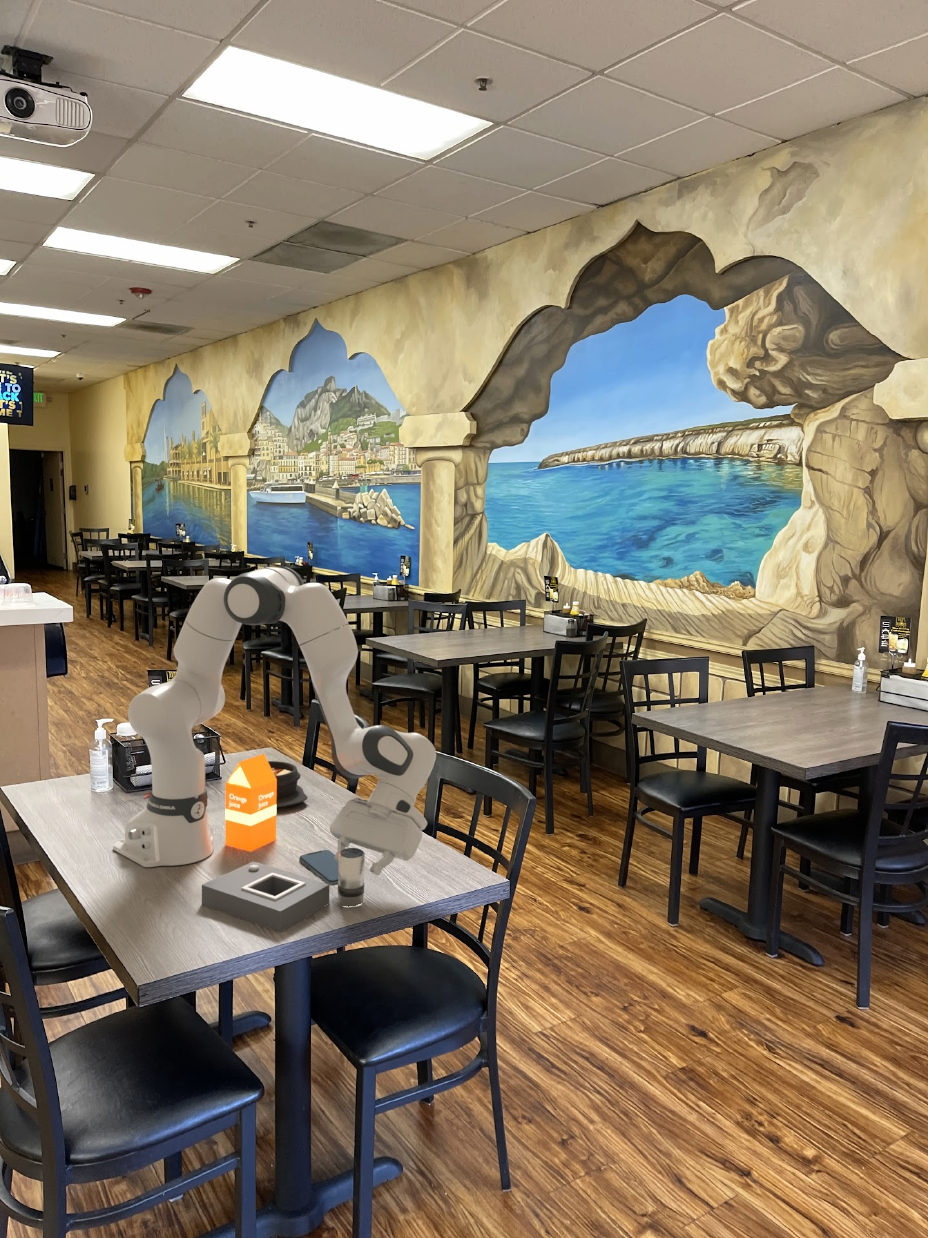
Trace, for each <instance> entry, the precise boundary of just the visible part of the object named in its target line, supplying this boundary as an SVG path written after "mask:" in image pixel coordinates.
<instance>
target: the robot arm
mask: <svg viewBox="0 0 928 1238" xmlns="http://www.w3.org/2000/svg"><path fill="white" fill-rule="evenodd" d="M278 622H283V623H286V624H287V625H288V627H290V629H291V630H292V632H293V634H294V635H293V636H295V638H296V641H297V643H298V646H299V648H300V650H301V652H302V655H303V657H304V660H305V662H306V665H307V668H308V670H309V675H310V677H311V679H310V680H311V683H312V687H313V692H314V693H315V697H316V700H317V702H318V705H319V708H320V711H321V713H322V717H323V720H324V722H325V725H326V727H327V731H328V733H329V737H330V746H331V757H332V762H333V765H334V766H335V768H336V769H337V771H338V772H339V773H340V774H342V775H343V776H344V777H347V778H349V779H360V778H363V777H366V776H369V775H374V776H376V778H377V779H378V781H377V783H376V785H375V787H374V789H373V790H372V792H371V794H370V796H369V798H368V800H367V799H362V798H360V797H354V798H352V799H350V800H348V801H347V802H346V803H345V805H344V806H343V807H342V808H341V809H340V810H339V811H338V813H337V814H336V816H335V818H333V820H332V822H331V823H330V825H329V832H330V833H331V834H332V836H334V838H336V839H337V851H336V853H335V857H334V859H335V860H336V861H338V862H339V852H341V851H342V850H343V849H346V848H349V846H350V844H353V845H354V846H355V845H356V846H359V847H362V848H364V849H368V850H371V851H373V852H374V851H375V852H378V853H381V854H382V857H381V859H379V860H378V861H377V862H374V861H373V862H372V865H371V866H370V868H369V871H370V872H371V874H374V875H376V876H380V875H381V873H382V871H383V869H385V868H386V867H387V866H389V865H390V864H392V863H393V861H394V859H395V858H396V859H399V860H402V861H405V862H407V861H410V860H411V859H412V858H413V857H414V856H415V854H416V852H417V850H418V848H419V845H420V843H421V841H422V837H423V830H424V831H425V829H426V827H427V826H428V821H427V820H426V818H425V817H424V815H423V814H422V813H421V811H419V809H418V808H416V807H415V804H416V801H417V797H418V794H419V793H420V791H422V789H423V788H425V785H426V783H427V781H428V779H429V778H430V775H431V773H432V771H433V768H434V765H435V763H436V758H437V752H436V747H435V746H434V744H433V743H432V741H430V740H429V739H428V737H426V736H424V735H422V734H420V733H418V732H403V731H398V730H395V729H394V728H392V727H390V726H388V725H381V724H379V725H378V724H377V725H372V726H369V727H365V728H362V727H361V726H360V725H359V723H358V722H357V719H356V717H355V714H354V713H355V712H354V711H353V710H354V709H353V707H352V705H351V701H350V699H349V696H348V693H347V680H348V677H349V675H350V672H351V670H352V669H353V668H354V666H355V663H356V661H357V658H358V654H359V651H358V644H357V641H356V638H355V633H354V632H353V630H352V627H351V626H350V624H349V621H348V619H347V617H346V615H345V613H344V611H343V609H342V608H341V606H340V604H339V602H338V601H337V599H336V598H335V596H334V595H333V593H332V592H331V591H330V590H329V588H328V587H327V586H326V585H325V584H322V583H320V582H307V583H305V581H304V580H303V578H302V577H301V575H300V574H299V573H298V572H297V571H295V570H294V569H292V568H290V567H287V566H281V565H278V566H272V567H271V566H269V567H260V568H257V569H254V570H253V571H249V572H244V573H241V574H239V575H237V576H236V577H235V578H233V579H232V580H231V579H228V578H224V577H215V578H212V579H210V580H207V582H206V583H204V585H203V587H202V588H201V590H199V593H198V594H197V596H196V597H195V599H194V601H193V602H192V604H191V606H190V608H189V611H188V612H187V615H186V618H185V620H184V622H183V625H182V628H181V630H180V632H179V634H178V637H177V639H176V642H175V644H174V647H173V656H174V658H175V659H176V661H177V669H176V673H175V675H174V676H173V678H172V679H171V680H170V681H167V682H163V683H160V684H155V685H152V686H149V687H148V688H146V689H145V690H143V691H141V692H140V693H139V694H137V695H135V696H134V697H133V698H132V699H131V700H130V703H129V705H128V708H127V718H128V722H129V725H130V727H131V728H132V729H133V731H134V732H135V733H136V734H137V735H139V736H140V737H142V738H143V740H144V742H145V744H146V747H147V750H148V752H149V755H150V760H151V761H150V763H151V783H152V784H151V786H152V787H151V788H152V791H150V792H146V793H144V794H143V796H144V797H143V799H144V800H145V799H148V800H147V802H146V803H147V804H146V807H145V808H143V809H142V810H141V811H140V812H138V813H137V814H135V815H134V816H133V817H131V818H130V819H129V820H128V821H127V823H126V825H125V829H124V837H123V838H121V839H119V840H118V841H116V842H115V843H114V844H113V846H112V849H113V850H114V851H115V852H117V853H118V854H120V855H122V856H124V857H126V858H127V859H129V860H131V861H133V862H135V863H137V864H138V865H140V866H142V867H143V868H154V867H160V866H161V867H162V866H164V867H165V866H180V865H183V866H184V865H188V864H192V863H196V862H200V861H202V860H205V859H206V858H208V857H210V856H211V854H212V853H213V850H214V848H213V845H212V844H213V842H214V837H213V836H211V828H210V820H209V811H208V809H207V807H208V797H209V796H208V790H207V788H206V758H205V755H204V752H203V751H201V750H200V749H199V748H197V747H196V745H195V742H194V740H193V735H192V730H193V727H196V726H199V725H201V724H204V723H206V722H208V721H210V720H211V719H212V718H214V717H215V716H216V715H217V714H219V713H220V712H221V711H222V709H223V708H224V705H225V702H226V693H225V690H224V687H223V685H222V678H223V672H224V668H225V666H226V662H227V661H228V659H229V656H230V653H231V650H232V648H233V646H234V643H235V641H236V638H237V637H238V634H239V631H240V629H241V627H242V625H248V626H260V625H268V624H277V623H278Z"/></svg>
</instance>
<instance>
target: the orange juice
mask: <svg viewBox="0 0 928 1238" xmlns="http://www.w3.org/2000/svg"><path fill="white" fill-rule="evenodd" d="M268 761H269V760H268V759H267V756H266V755H265V753H263V754H259V755H256V756H253V757H250V758H246V759H244V760H242V761H239V762H238V763H237V765H236V767H235V769H234V770H233V771H232V773H231V774H230V776H229V778H228V779H227V781H226V782H225V809H224V813H225V814H224V815H225V817H224V820H225V828H224V829H225V833H224V835H225V840H224V841H225V844H224V845H225V846H227V847H228V846H229V847H232V848H235V849H240V850H242V851H247V852H250V853H251V852H253V851H255V850H257V849H259V848H262V847H263V846H266V845H267V844H269V843H272V842H274V841H276V840H277V808H278V807H277V804H276V789H277V779H276V777H275V775H274V773H273V771H272V769H271V767H270V765H269V763H268Z"/></svg>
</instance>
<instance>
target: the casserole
mask: <svg viewBox="0 0 928 1238" xmlns="http://www.w3.org/2000/svg"><path fill="white" fill-rule="evenodd" d="M267 761H268V763H269V765H270V767H271V769H272V771H273V773H274V775H275V777H276V779H277V789H276V804H277V808H283V807H289V806H294V805H297V804H300V803H303V802H305V801H306V800H308V796H307V795H306V794H305V791H304V789H303V787H302V786H300V785H298V781H299V779H301V776H302V775H301V774H300V772H299V770H298V768H297V766H296V765H294V764H293V763H290V762H285V761H276V760H272V761H270V760H267Z"/></svg>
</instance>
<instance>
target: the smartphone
mask: <svg viewBox="0 0 928 1238" xmlns="http://www.w3.org/2000/svg"><path fill="white" fill-rule="evenodd" d="M335 855H336V853H335V854H334V853H333V852H332V851H331V850H329V849H323V850H318V851H313V852H309V853H306V854H305V853H304V854H302V855H300V856H299V857H298V858H299V862H300V863H301V864H303V866H305V867H306V868H307V869H308V870H309V871H310V872H312V873H313V874H315V875H316V876H317V875H318V876H317V877H319V878H320V879H321V880H322V881H324V882H325V881H326V882H325V883H326V884H329V885H336V883H337V884H338V874H339V862H338V861H336V860H335V859H334V857H335Z"/></svg>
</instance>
